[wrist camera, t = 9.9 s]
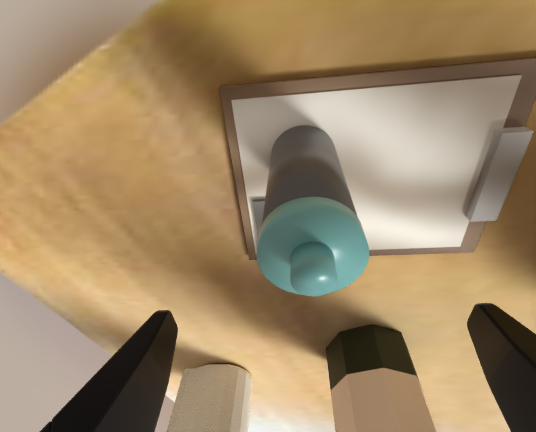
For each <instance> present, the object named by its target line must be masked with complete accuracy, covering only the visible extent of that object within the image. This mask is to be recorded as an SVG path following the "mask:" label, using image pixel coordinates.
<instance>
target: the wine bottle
mask: <svg viewBox="0 0 536 432" xmlns="http://www.w3.org/2000/svg"><path fill="white" fill-rule="evenodd" d="M326 353H327V362H328V371H329V379H330V388H331V397H332V405H333V414H334V422H335V431H336V432H437V430H436V427H435V424H434V421H433V419H432V416H431V413H430V410H429V407H428V405H427V402H426V399H425V396H424V393H423V390H422V388H421V385H420V382H419V379H418V376H417V374H416V371H415V368H414V365H413V362H412V360H411V357H410V354H409V351H408V348H407V346H406V343H405V341H404V338H403V336H402V333H401V332H398V331H394V330H390V329H386V328H383V327H379V326H375V325H368V326H364V327H359V328H355V329H351V330H346V331H342V332H339V334H338V335H337V336H336V337H335V338H334V340H333V341H332V342H331V343H330V344H329V346H328V347H327V348H326Z"/></svg>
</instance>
